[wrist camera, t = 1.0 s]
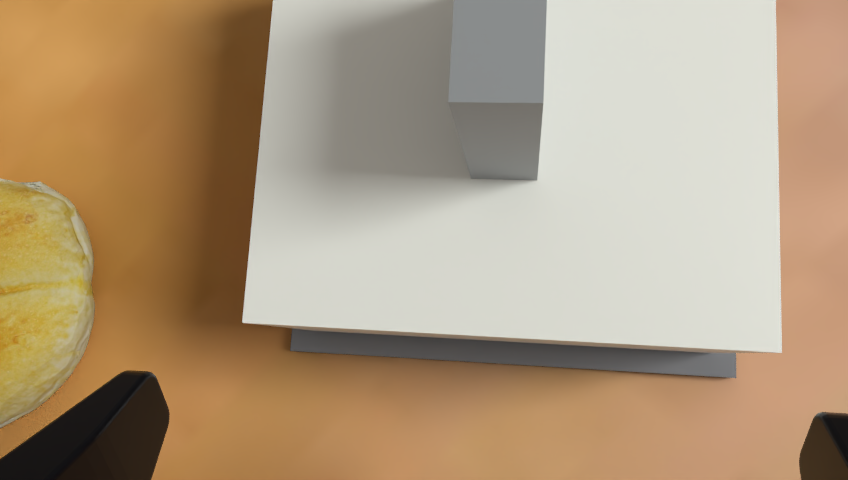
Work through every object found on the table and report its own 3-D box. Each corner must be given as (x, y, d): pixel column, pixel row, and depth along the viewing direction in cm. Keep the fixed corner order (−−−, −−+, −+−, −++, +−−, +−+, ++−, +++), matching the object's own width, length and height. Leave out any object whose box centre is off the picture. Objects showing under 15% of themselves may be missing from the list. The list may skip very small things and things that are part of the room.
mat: (732, 377, 22) (735, 378, 21) (293, 350, 24) (290, 350, 23) (729, -45, 24) (732, -52, 24) (326, -37, 26) (323, -43, 26)
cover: (711, 352, 22) (912, 352, 10) (312, 330, 23) (121, 309, 12) (710, -32, 24) (879, -378, 12) (341, -25, 25) (198, -322, 14)
